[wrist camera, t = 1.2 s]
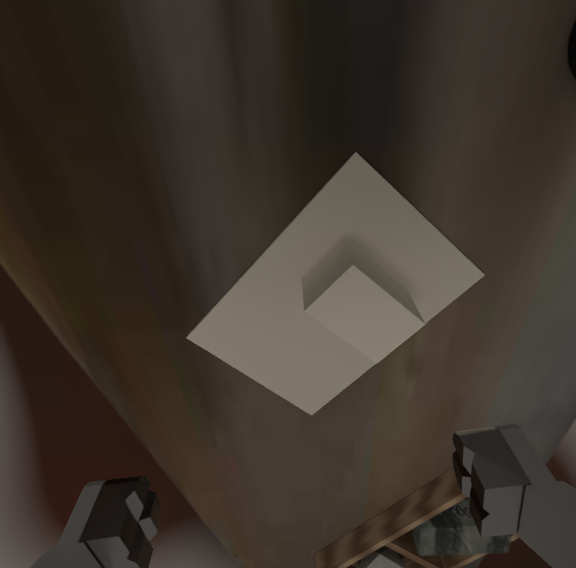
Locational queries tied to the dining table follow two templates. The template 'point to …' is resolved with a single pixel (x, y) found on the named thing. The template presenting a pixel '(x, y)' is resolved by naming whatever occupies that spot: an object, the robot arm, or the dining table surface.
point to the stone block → (456, 534)
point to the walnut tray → (401, 530)
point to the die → (382, 559)
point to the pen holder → (573, 51)
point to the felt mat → (301, 258)
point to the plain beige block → (359, 301)
